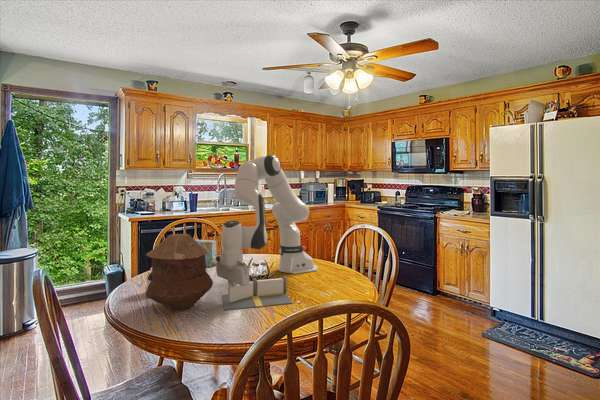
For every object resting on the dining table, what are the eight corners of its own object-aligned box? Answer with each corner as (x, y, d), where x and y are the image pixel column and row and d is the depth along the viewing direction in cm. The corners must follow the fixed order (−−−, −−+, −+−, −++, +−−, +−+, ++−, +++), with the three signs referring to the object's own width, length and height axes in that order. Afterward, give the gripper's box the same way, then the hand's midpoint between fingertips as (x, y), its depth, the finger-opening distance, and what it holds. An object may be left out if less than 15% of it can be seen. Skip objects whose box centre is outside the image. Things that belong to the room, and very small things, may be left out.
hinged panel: (251, 294, 157) (251, 281, 156) (254, 295, 156) (253, 281, 155) (227, 301, 148) (227, 287, 148) (229, 302, 147) (229, 288, 147)
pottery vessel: (156, 325, 127) (153, 243, 124) (140, 304, 147) (137, 233, 145) (223, 309, 142) (222, 235, 140) (200, 292, 163) (199, 227, 160)
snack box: (217, 265, 210) (216, 240, 209) (212, 267, 205) (211, 242, 204) (187, 262, 217) (186, 238, 216) (181, 264, 212) (180, 239, 211)
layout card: (282, 289, 165) (282, 288, 165) (292, 303, 148) (292, 302, 148) (222, 295, 158) (222, 294, 158) (224, 310, 140) (224, 309, 140)
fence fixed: (285, 291, 162) (285, 276, 161) (286, 293, 160) (286, 277, 159) (252, 294, 157) (252, 278, 157) (253, 296, 156) (252, 279, 155)
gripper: (253, 262, 145) (253, 295, 146) (225, 253, 160) (226, 283, 161) (240, 265, 141) (240, 299, 142) (213, 256, 155) (213, 286, 156)
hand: (232, 290), depth 151 cm, fingers closed
